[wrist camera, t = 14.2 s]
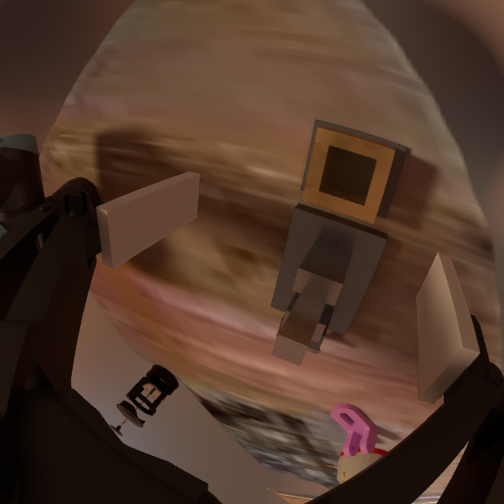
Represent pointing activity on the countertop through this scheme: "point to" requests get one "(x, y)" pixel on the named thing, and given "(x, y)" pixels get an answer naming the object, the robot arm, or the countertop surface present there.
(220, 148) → the countertop surface
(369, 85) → the countertop surface
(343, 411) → the bracket
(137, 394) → the french press
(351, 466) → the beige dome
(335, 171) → the rubber mat
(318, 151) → the orange-brown square frame
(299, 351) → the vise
